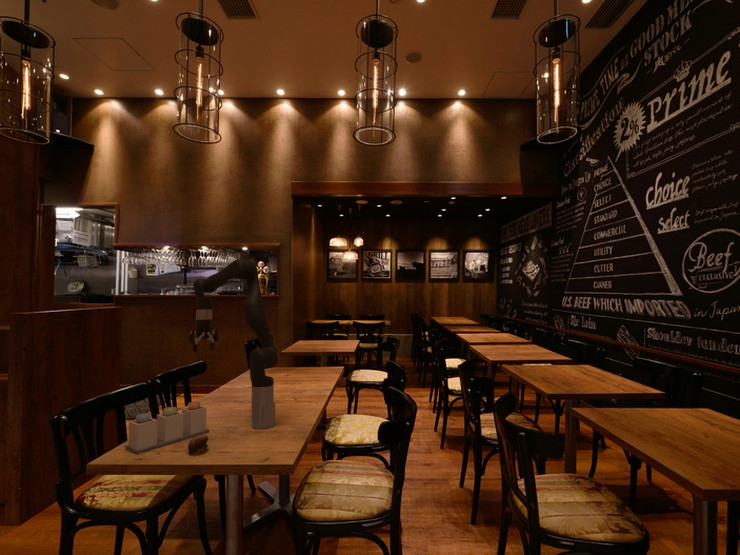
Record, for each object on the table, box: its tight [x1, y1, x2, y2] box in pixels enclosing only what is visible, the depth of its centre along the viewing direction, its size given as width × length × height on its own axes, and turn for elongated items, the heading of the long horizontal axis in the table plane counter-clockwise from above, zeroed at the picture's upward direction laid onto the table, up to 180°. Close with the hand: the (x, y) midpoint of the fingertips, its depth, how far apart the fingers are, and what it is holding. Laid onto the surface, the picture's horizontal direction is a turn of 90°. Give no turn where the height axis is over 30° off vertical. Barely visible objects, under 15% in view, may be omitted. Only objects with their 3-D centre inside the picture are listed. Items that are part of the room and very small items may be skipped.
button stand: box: [125, 405, 210, 455], centre depth 154 cm, size 9×28×10 cm, turn 144°
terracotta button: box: [187, 400, 201, 411], centre depth 163 cm, size 5×5×3 cm
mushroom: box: [187, 434, 210, 455], centre depth 143 cm, size 8×8×6 cm
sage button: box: [162, 406, 178, 417], centre depth 154 cm, size 5×5×3 cm
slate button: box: [135, 412, 151, 424], centre depth 146 cm, size 5×5×3 cm
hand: (203, 351), depth 197 cm, fingers open, 8 cm apart
